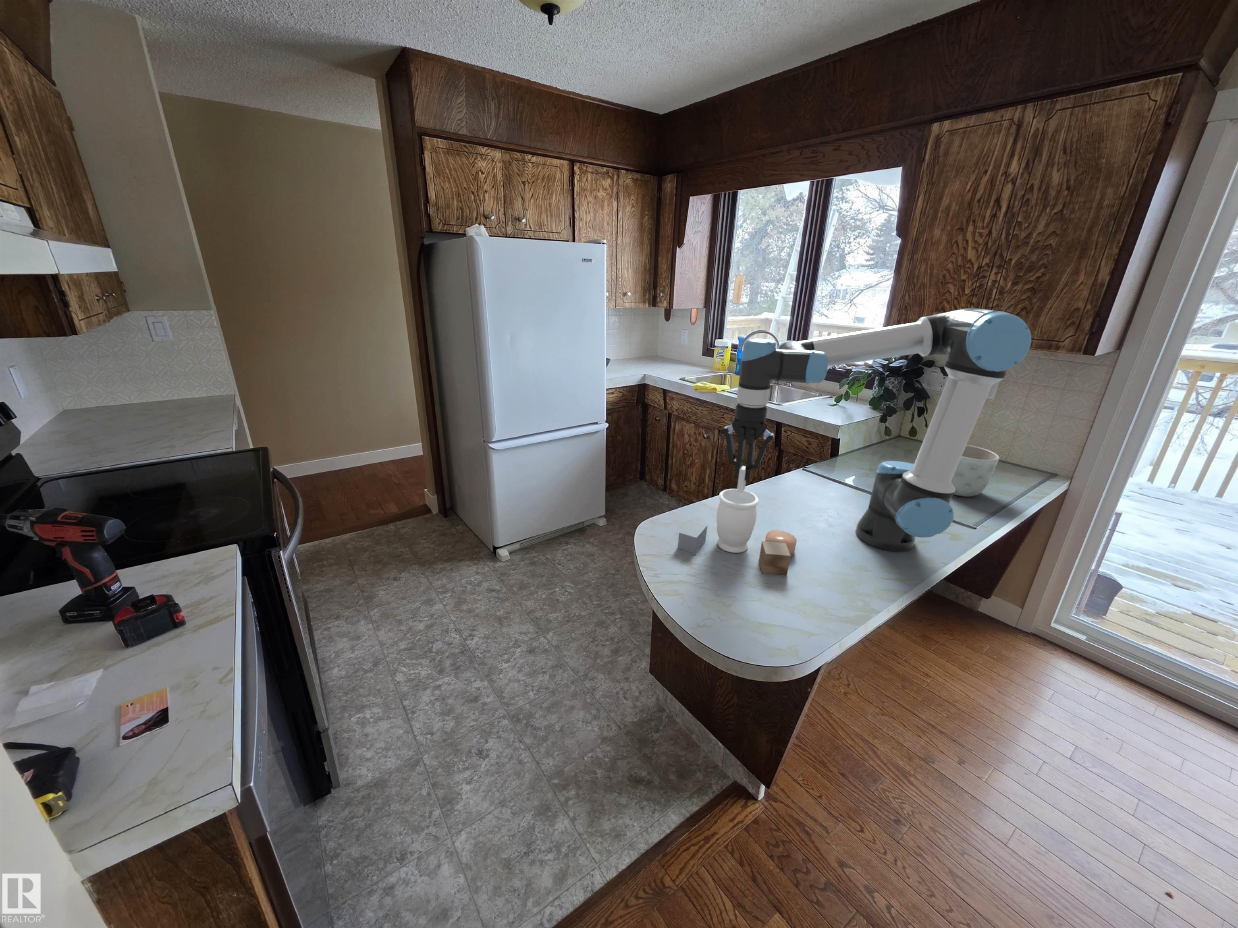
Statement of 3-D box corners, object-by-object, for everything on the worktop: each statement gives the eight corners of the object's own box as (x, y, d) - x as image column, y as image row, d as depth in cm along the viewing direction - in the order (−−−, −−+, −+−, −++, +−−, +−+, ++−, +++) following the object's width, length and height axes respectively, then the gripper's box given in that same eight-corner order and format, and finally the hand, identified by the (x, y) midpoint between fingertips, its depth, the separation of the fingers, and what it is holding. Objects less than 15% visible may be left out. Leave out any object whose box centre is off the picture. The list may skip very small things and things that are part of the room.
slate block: (705, 541, 140) (707, 525, 138) (694, 554, 133) (696, 537, 132) (689, 536, 142) (690, 520, 140) (677, 548, 136) (679, 532, 134)
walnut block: (782, 563, 131) (785, 543, 129) (786, 576, 125) (790, 555, 123) (758, 560, 131) (761, 541, 129) (762, 574, 126) (765, 553, 123)
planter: (977, 506, 167) (991, 464, 161) (922, 489, 179) (934, 449, 173) (991, 493, 178) (1005, 453, 172) (939, 478, 189) (950, 440, 184)
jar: (752, 558, 132) (760, 507, 127) (712, 552, 134) (718, 502, 128) (750, 538, 142) (757, 490, 136) (713, 533, 144) (719, 486, 138)
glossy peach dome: (796, 547, 138) (798, 534, 137) (791, 561, 132) (794, 548, 130) (766, 540, 142) (768, 527, 140) (761, 553, 135) (763, 540, 133)
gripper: (781, 404, 123) (768, 490, 132) (729, 397, 129) (720, 480, 137) (776, 411, 117) (763, 501, 126) (721, 403, 122) (712, 490, 131)
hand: (740, 490), depth 132 cm, fingers closed
